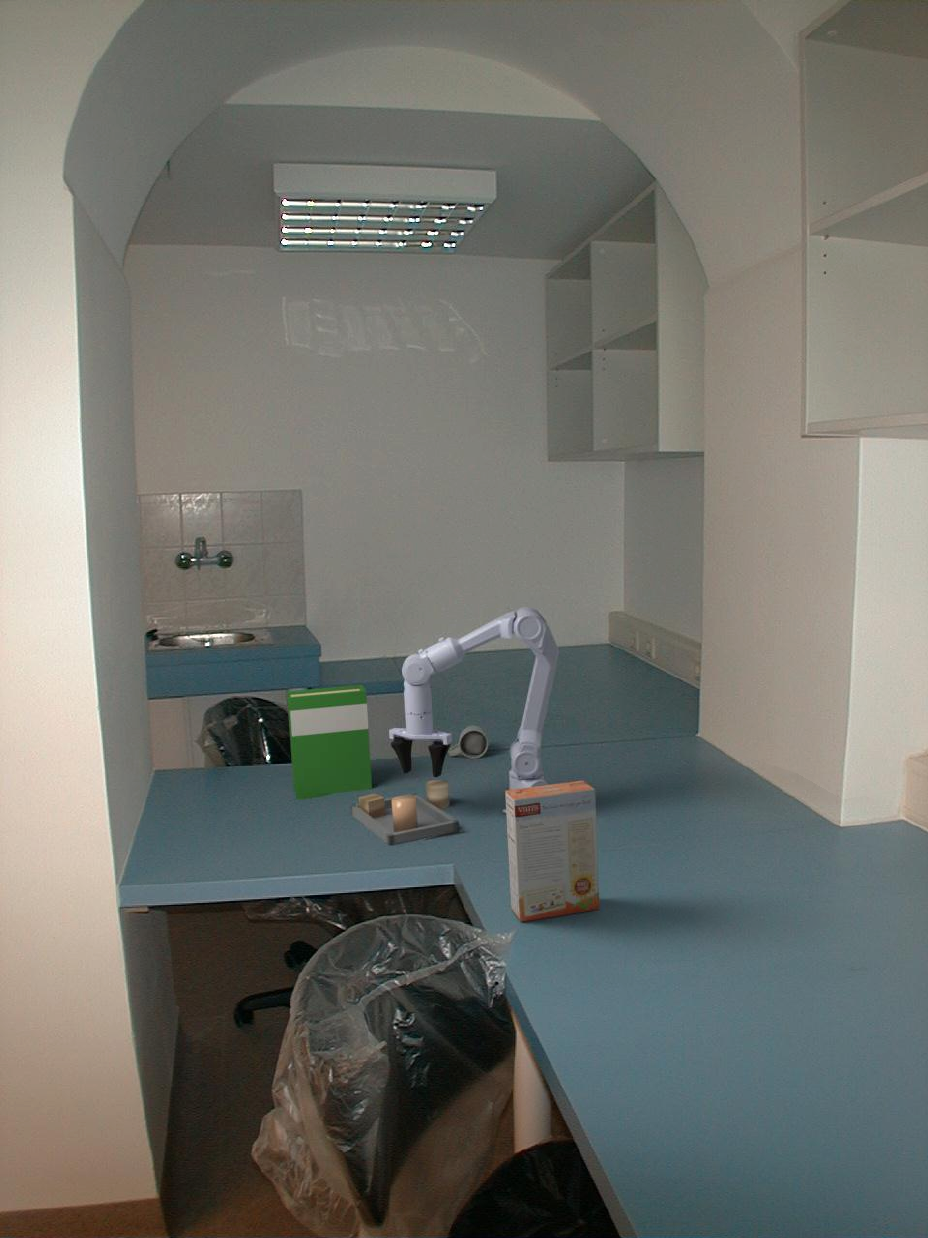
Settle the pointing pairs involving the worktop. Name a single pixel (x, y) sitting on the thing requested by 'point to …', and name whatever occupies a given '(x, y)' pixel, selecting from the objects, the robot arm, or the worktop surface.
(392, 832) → the tray
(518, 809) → the cracker box
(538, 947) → the worktop surface
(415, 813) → the tan rounded cylinder
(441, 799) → the beige oval piece
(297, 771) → the hardback book
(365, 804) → the oak cube
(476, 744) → the ceramic mug
